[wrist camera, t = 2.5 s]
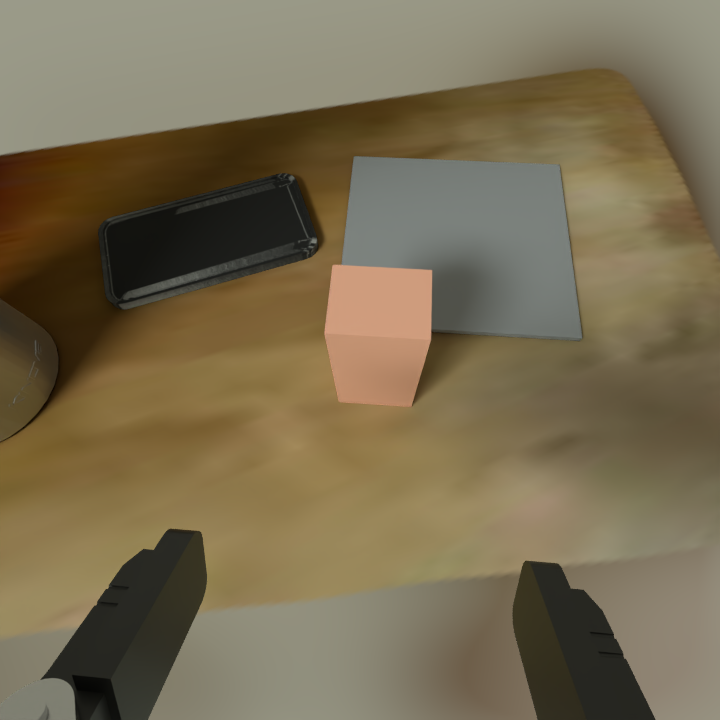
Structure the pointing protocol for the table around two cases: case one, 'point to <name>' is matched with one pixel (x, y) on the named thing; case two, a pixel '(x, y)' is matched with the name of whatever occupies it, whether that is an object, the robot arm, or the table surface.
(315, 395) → the table surface
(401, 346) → the block
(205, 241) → the phone
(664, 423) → the table surface
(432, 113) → the table surface
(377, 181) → the mat
